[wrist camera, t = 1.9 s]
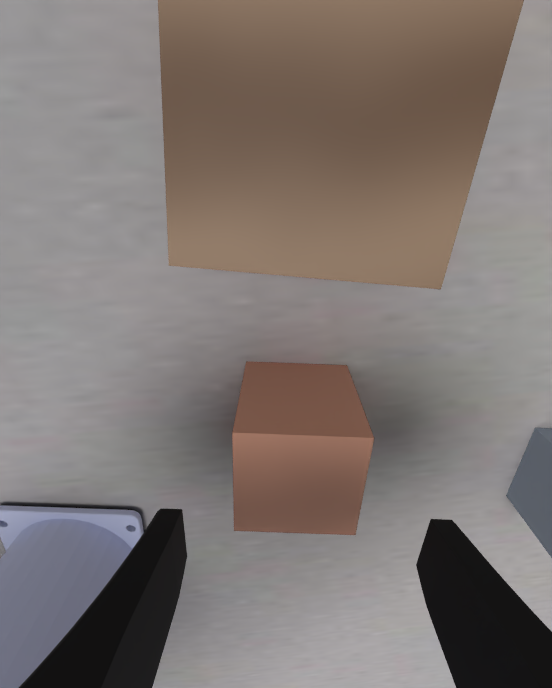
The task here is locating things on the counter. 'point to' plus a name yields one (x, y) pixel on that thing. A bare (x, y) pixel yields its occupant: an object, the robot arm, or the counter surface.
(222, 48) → the walnut block
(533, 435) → the slate-grey block
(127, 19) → the counter surface
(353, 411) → the terracotta block
